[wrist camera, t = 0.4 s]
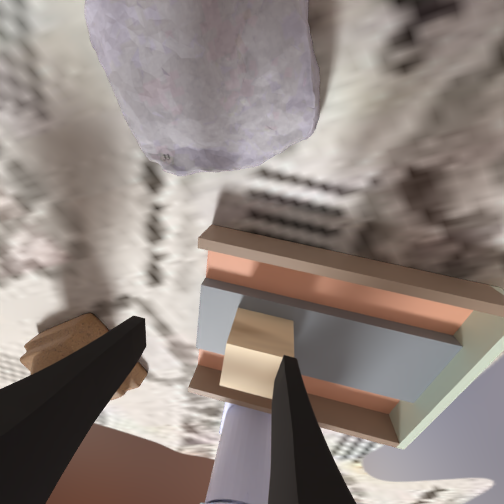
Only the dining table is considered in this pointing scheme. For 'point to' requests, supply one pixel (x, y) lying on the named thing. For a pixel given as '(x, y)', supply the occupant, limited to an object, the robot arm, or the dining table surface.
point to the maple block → (256, 352)
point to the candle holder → (73, 348)
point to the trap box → (350, 331)
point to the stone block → (209, 77)
